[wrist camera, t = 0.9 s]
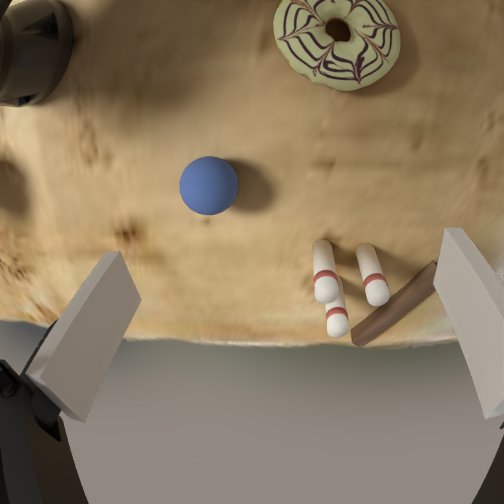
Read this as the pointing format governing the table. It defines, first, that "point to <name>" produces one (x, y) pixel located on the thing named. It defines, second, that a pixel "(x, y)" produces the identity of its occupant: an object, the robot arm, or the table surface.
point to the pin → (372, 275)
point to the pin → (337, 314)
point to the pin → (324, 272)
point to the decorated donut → (338, 53)
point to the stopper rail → (395, 307)
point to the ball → (209, 185)
